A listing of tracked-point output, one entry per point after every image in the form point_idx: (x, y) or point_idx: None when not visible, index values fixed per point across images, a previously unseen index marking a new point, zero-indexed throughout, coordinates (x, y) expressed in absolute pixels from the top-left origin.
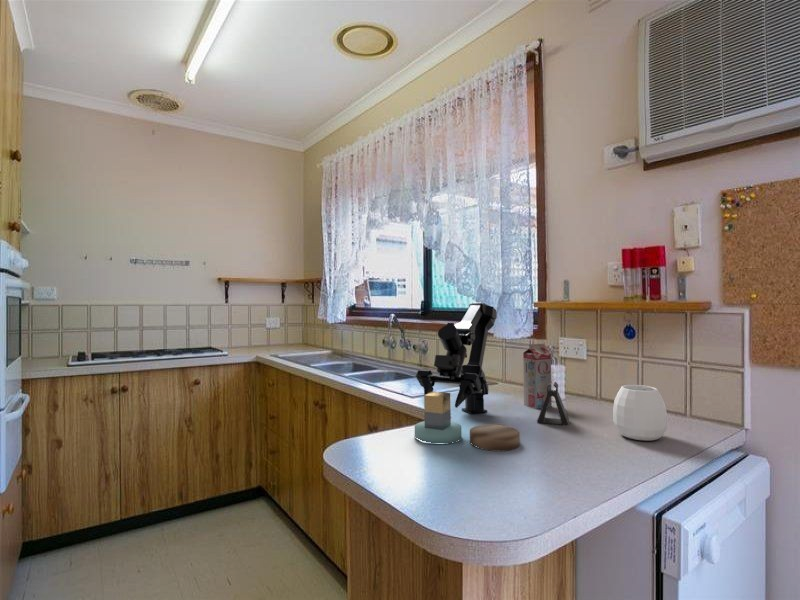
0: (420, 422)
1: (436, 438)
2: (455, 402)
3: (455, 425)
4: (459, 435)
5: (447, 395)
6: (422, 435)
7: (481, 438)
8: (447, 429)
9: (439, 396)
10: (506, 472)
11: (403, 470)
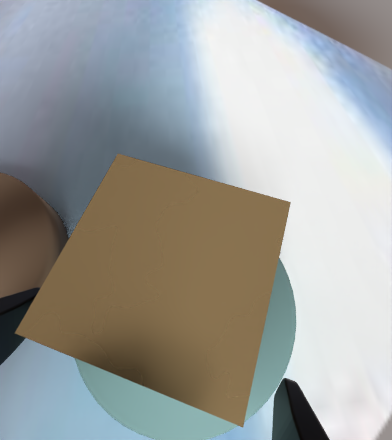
0: (282, 366)
1: None
2: (26, 299)
3: None
4: None
5: (65, 254)
6: None
7: (23, 183)
8: None
9: (144, 170)
10: (28, 79)
11: (240, 66)
